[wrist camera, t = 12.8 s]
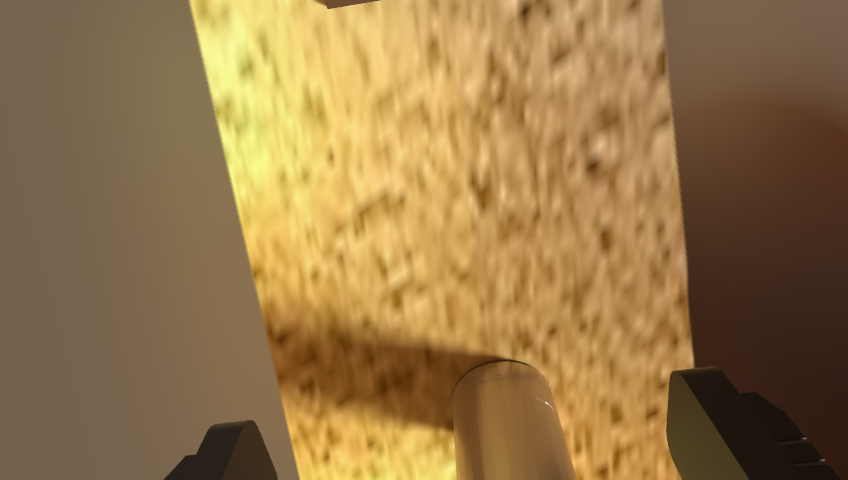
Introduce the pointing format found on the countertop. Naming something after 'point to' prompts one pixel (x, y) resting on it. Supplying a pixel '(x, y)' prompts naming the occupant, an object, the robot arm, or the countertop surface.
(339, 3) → the collar
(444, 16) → the countertop surface
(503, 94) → the countertop surface
